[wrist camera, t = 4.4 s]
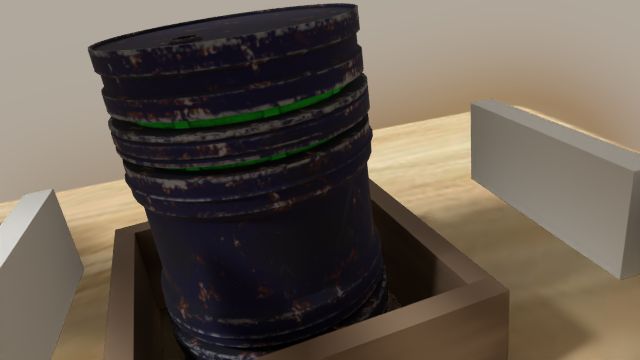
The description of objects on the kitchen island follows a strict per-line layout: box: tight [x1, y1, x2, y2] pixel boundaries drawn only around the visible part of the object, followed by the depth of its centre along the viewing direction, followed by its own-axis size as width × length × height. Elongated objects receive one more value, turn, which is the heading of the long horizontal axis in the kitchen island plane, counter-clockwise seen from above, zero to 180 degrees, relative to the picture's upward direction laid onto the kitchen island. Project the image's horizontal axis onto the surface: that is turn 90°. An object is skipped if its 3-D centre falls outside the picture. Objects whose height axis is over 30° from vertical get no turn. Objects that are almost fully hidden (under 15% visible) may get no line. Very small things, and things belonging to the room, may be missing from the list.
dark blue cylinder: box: [88, 3, 388, 360], centre depth 21 cm, size 10×10×15 cm
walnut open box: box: [104, 179, 509, 360], centre depth 23 cm, size 14×14×5 cm
